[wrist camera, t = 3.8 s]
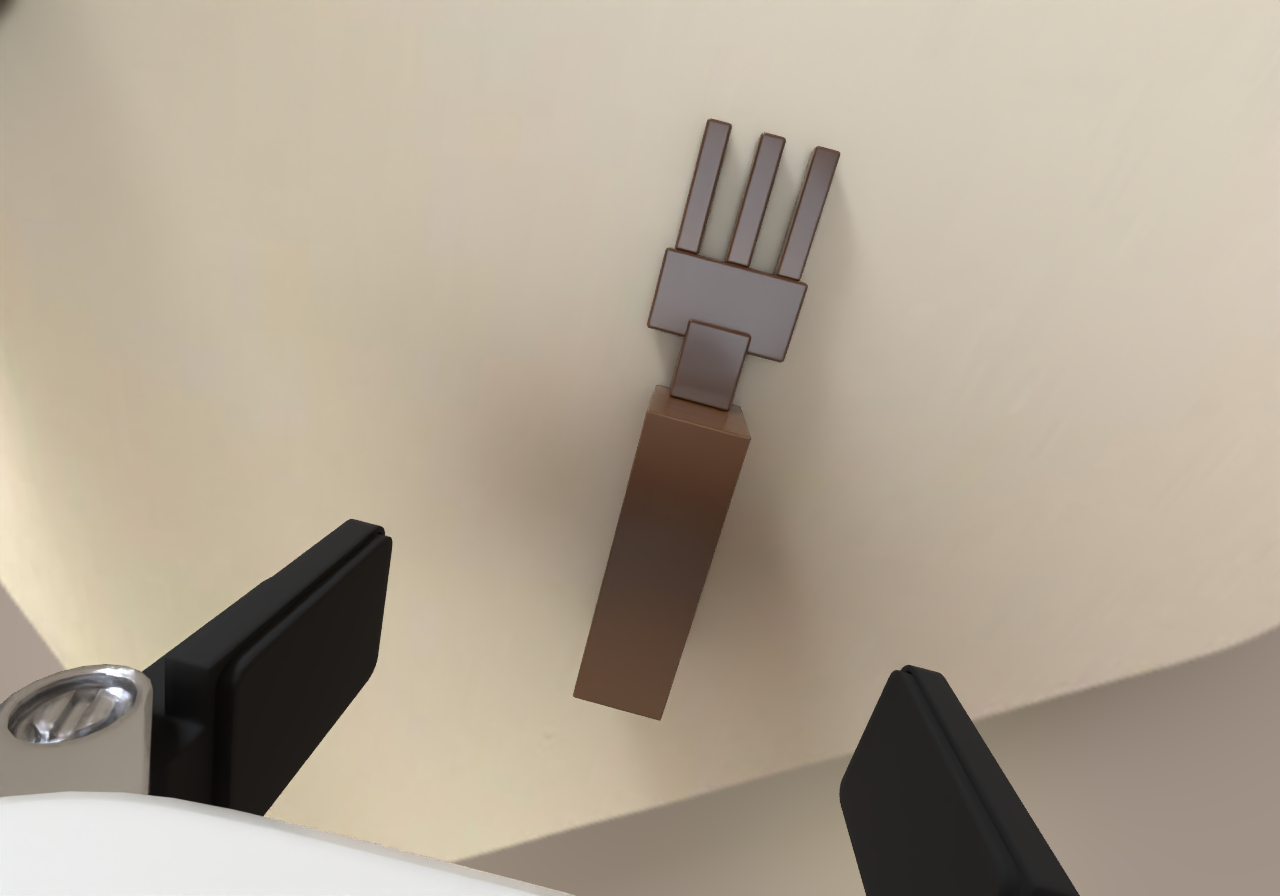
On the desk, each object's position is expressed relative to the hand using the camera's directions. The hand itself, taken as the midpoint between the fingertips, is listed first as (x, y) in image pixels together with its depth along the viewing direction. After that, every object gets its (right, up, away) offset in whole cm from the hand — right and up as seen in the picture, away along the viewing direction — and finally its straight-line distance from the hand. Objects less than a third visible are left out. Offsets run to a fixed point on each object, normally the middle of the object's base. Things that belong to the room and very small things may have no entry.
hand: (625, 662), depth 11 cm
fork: (+1, +4, +6) cm, 7 cm away
